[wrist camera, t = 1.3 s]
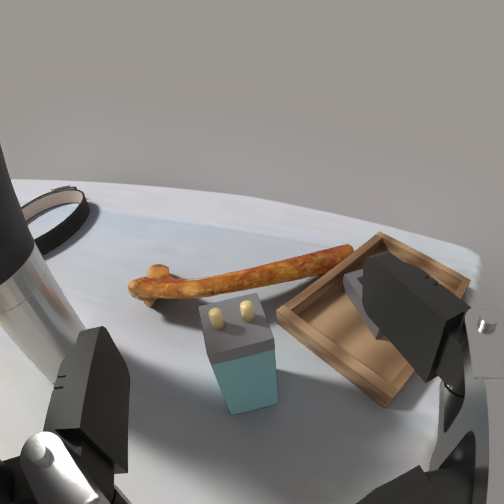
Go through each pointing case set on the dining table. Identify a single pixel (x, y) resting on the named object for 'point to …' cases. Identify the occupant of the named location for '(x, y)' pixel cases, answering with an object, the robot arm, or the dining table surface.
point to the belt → (65, 227)
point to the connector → (241, 352)
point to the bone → (235, 277)
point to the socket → (359, 298)
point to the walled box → (358, 321)
